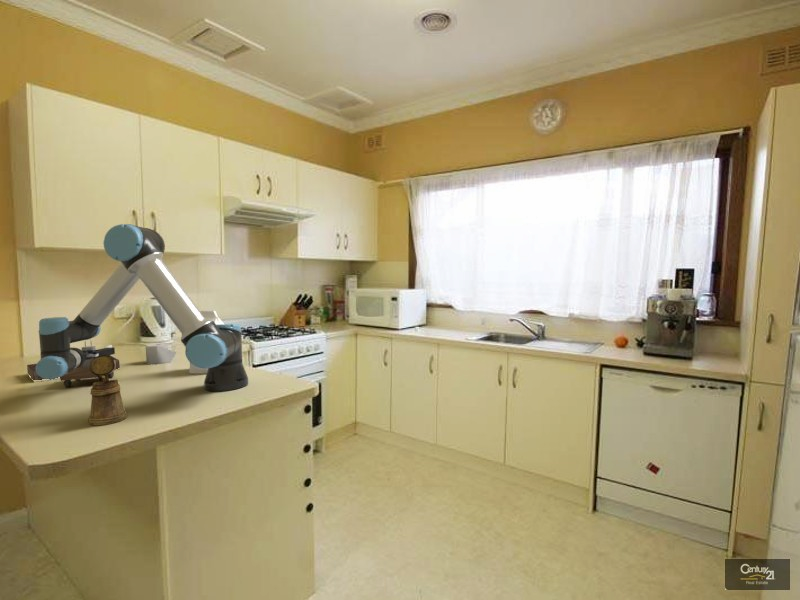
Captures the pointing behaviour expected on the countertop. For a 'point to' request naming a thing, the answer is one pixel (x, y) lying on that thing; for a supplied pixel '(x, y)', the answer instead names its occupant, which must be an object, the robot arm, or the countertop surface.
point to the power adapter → (87, 362)
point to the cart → (81, 375)
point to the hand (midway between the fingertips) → (91, 349)
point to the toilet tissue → (159, 353)
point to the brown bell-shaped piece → (105, 394)
